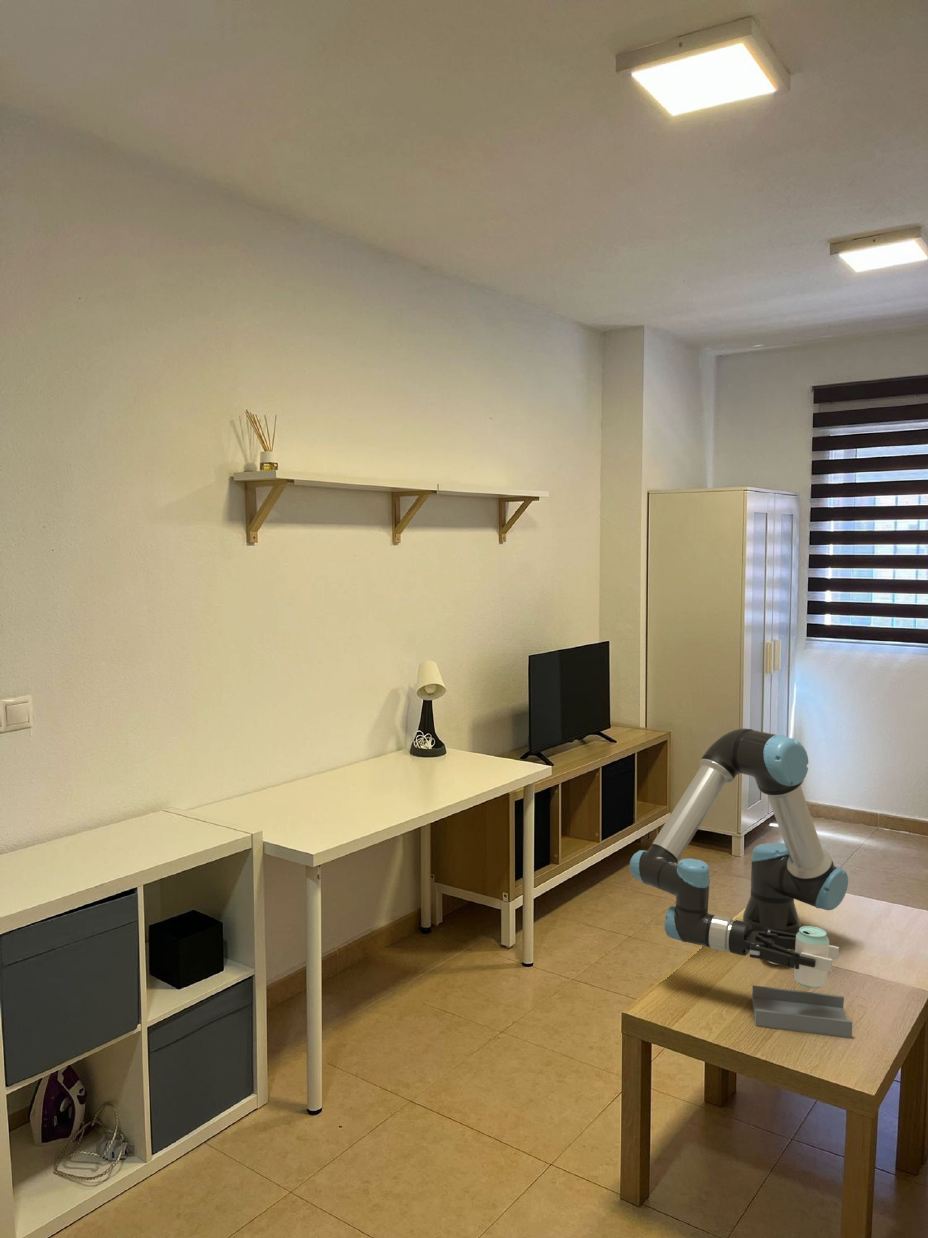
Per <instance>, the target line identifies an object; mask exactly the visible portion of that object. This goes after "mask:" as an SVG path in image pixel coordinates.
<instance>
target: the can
mask: <svg viewBox="0 0 928 1238" xmlns="http://www.w3.org/2000/svg"><path fill="white" fill-rule="evenodd" d="M829 945H830V939H829V937H828V936H827V931H826V930H824V929H822V928H820V927H816V926H813V925H812V926H811V925H805V926H801V927H799V931H798V932H797V933H796V944H795V950H794V952H796V953H799V954H800V956H801V952H803V953H807V954H812V955H816V956H820V957H824V958H828V956H829ZM828 973H829V972H827V971H822V970H818V969H814V968H810V967H806V966H801V965H800V964H799V969H795V968H793V979H794V981H796V982H797V983H798V984H799V985H801V986H802V987H805V988H809V989H821V988H823V987H826V985H827V984H828Z"/></svg>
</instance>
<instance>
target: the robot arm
mask: <svg viewBox="0 0 928 1238" xmlns="http://www.w3.org/2000/svg"><path fill="white" fill-rule="evenodd" d="M698 763H699V769H698V771H697V772H696V774H695V776H694V777H693V779H692V780H691V782H690V783H689V785H688V786H687V788H686V789H685V792H684V793H683V795H682V796H681V798H680V799H679V801H678V802H677V804H676V805H675V807H674V809H672V811H671V814H670V815H668V818H667V820H666V821H665V823H664V824H663V826H662V827H661V829H660V830H659V833H658V834H657V836H656V837H655V839H654V840H653V842H652V844H651V845H650V846H649V848H648V849H647V850H644V849H643V850H638V851H637V852H635V853H634V854H633V855H632V857H631V858H630V861H629V872H630V875H631V876H632V878H634V879H636V880H638V881H639V882H641V883H642V884H645V885H647V886H648V885H649V886H651V887H653V888H656V889H658V890H661V891H663V892H665V893H668V894H670V895H673V896H675V906H674V905H672V906H670V907H669V908H668V909H667V911H666V913H665V919H664V931H665V934H666V936H668V938H671V939H674V940H678V941H681V942H683V943H690V944H693V945H698V946H701V947H706V948H711V949H715V950H716V951H717V952H721V951H723V952H730V953H731V954H734V955H735V954H736V955H737V956H738V955H739V956H743V957H745V956H747V955H748V954H749V957H750V958H753V959H759V960H763V961H766V962H768V961H769V962H768V963H770V962H773V963H776V964H780V966H783V967H787V968H790V969H794V968H795V969H799V964H800V965H801V966H806V967H810V968H814V969H818V970H822V971H827V972H828V973H832V972H833V960H836V961H838V960H839V957H840V956H839V953H840V947H839V946H836V945H831V944H829V956H828V958H824V957H820V956H816V955H812V954H807V953H803V952H801V956H800V954H799V953H796V952H795V944H796V934H797V933H798V932H799V929H800V924H801V923H800V918H799V914H798V911H797V907H796V905H795V900H796V901H798V902H801V903H804V904H807V905H809V906H812V907H814V908H816V909H822V910H825V911H833V910H834V909H836V908H838V906H839V905H840V904H841V903H842V902H843V900H844V898H845V897H846V894H847V891H848V886H849V877H848V873H847V872H846V870H845V869H842V868H841V867H840V866H838V867H837V866H835V864H834V861H833V859H832V856H831V853H829V852H828V851H827V850H826V849H824V848H823V847H822V844H821V841H820V839H819V836H818V832H817V831H816V830H817V829H816V827H815V824H814V821H813V818H812V816H811V813H810V809H809V806H808V804H807V801H806V798H805V795H804V792H803V789H802V785H803V782H804V781H805V779H806V777H807V774H808V771H809V767H808V764H809V757H808V753H807V751H806V749H805V747H804V745H803V744H802V743H801V742H800V741H798V740H797V739H795V738H791V737H789V736H787V735H783V734H775V733H769V732H766V731H765V732H764V731H759V730H755V729H751V728H745V727H744V728H738V729H734V730H731V731H729V732H727V733H725V734H723V735H722V736H721V737H719V738H718V739H717V740H716V741H715V742H714V743H712V744H711V746H709V747H708V749H707V750H706V751H705V752H704V753H703V755H702V757H701V758H700V760H699V762H698ZM740 774H742V775H747V776H750V777H753V778H754V780H755V783H756V786H757V788H758V790H759V792H761V794H764V795H765V796H767V798H768V801H769V803H770V806H771V809H772V811H773V815H774V817H775V820H776V823H777V826H778V829H779V832H780V835H781V837H782V840H783V842H768V843H761V844H758V845H755V847H753V849H752V855H751V860H750V861H751V870H750V871H751V873H750V896H749V898H748V902H747V904H746V907H745V909H744V911H743V914H742V920H738V919H735V920H733V918H730V917H725V916H722V915H716V914H710V913H709V896H710V884H711V883H710V881H711V879H710V866H709V865H708V864H707V863H706V862H705V861H703V860H701V859H695V858H683V859H681V857H682V855H683V853H684V851H685V850H686V849H687V847H688V845H689V844H690V843H691V841H692V839H693V838H694V836H695V835H696V832H697V831H698V830H699V828H700V827H701V825H702V823H703V821H704V820H705V818H706V817H707V815H708V813H709V812H710V811H711V809H712V807H713V806H714V804H715V802H716V800H717V799H718V797H719V796H720V794H721V792H722V791H723V790H724V787H725V786H726V785H727V784H731V783H732V782H733V781H734V780H735V779H736V776H738V775H740ZM788 949H790V950H788ZM776 964H775V965H776Z"/></svg>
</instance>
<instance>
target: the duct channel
mask: <svg viewBox="0 0 928 1238" xmlns="http://www.w3.org/2000/svg"><path fill="white" fill-rule="evenodd" d="M751 989H752V991H751V992H752V993H751V1002H752V1010H753V1015H754V1022H755V1023H754V1025H755V1027H763V1028H771V1029H777V1030H785V1029H786V1031H794V1032H801V1033H810V1034H817V1035H823V1036H824V1035H826V1036H832V1037H833V1036H834V1037H839V1038H841V1037H842V1038H848V1039H852V1038H853V1036H852V1035H853V1020H848V1019H847V1015H846V1012H845V1009H844V1003H845V1002H844V1001H845V999H844V998H845V997H844V996H843V995H838V994H830V993H823V992H822V993H821V992H820V993H819V992H812V991H806V990H805V991H804V990H794V989H787V988H779V987H770V986H769V987H768V986H761V985H752V988H751Z"/></svg>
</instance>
